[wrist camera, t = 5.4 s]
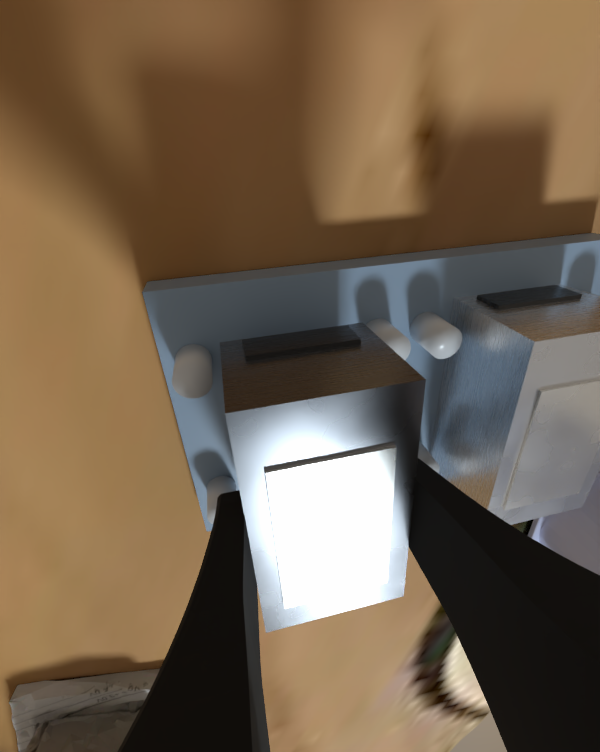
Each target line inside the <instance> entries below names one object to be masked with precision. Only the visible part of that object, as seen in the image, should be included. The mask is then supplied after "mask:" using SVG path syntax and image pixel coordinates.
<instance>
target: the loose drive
mask: <svg viewBox="0 0 600 752" xmlns="http://www.w3.org/2000/svg"><path fill="white" fill-rule="evenodd" d="M220 353H221V366H222V379H223V392H224V405H225V415H226V421H227V426H228V432H229V437H230V442H231V448H232V453H233V458H234V464H235V469H236V474H237V480H238V485H239V490H240V496H241V501H242V506H243V512H244V516H245V520H246V526H247V532H248V537H249V543H250V548H251V554H252V559H253V565H254V570H255V576H256V581H257V587H258V592H259V597H260V603H261V608H262V613H263V619H264V624H265V629H266V633H267V632H271V631H274V630H278V629H282V628H286V627H289V626H293V625H297V624H301V623H304V622H308V621H312V620H316V619H319V618H323V617H327V616H331V615H334V614H338V613H342V612H346V611H350V610H353V609H357V608H361V607H365V606H368V605H372V604H376V603H380V602H383V601H387V600H391V599H395V598H398V597H402V596H404V586H405V576H406V567H407V557H408V547H409V538H410V528H411V518H412V508H413V498H414V488H415V479H416V470H417V460H418V451H419V441H420V431H421V422H422V412H423V402H424V393H425V383H426V379H425V378H424V377H423V376H421V375H420V374H419V373H418V372H417V371H416V370H415V369H414V368H413V367H411V366H410V365H409V364H408V363H407V362H406V361H405V360H404V359H403V358H402V357H400V356H399V355H398V354H397V353H396V352H395V351H394V350H393V349H392V348H390V347H389V346H388V345H387V344H386V343H385V342H384V341H383V340H382V339H380V338H379V337H378V336H377V335H376V334H375V333H374V332H373V331H372V330H370V329H369V328H368V327H367V326H366V325H365V324H364V323H363V322H362V323H355V324H348V325H341V326H334V327H327V328H319V329H312V330H305V331H298V332H291V333H284V334H277V335H269V336H262V337H255V338H248V339H241V340H234V341H226V342H220Z"/></svg>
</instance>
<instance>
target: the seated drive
mask: <svg viewBox="0 0 600 752" xmlns="http://www.w3.org/2000/svg"><path fill="white" fill-rule="evenodd" d="M450 324H451V325H453V326H454V327H456V328H457V329H459V330H460V332H461V334H462V343H461V346H460V348H459V349H458V350H457V352H456V353H455V354H453V355H452V356H450V357H448V358H445V359H444V366H443V372H442V379H441V385H440V392H439V398H438V405H437V411H436V418H435V424H434V431H433V438H432V444H431V451H430V454H431V456H432V457H433V458H434V459H435V461H436V462H437V463H438V465H439V467H440V470H439V473H438V474H440V475H441V476H442V477H444V478H445V479H446V480H448V481H449V482H450V483H452V484H453V485H454V486H455V487H457V488H458V489H459V490H461V491H462V492H463V493H465V494H466V495H468V496H469V497H470V498H472V499H473V500H475V501H476V502H477V503H479V504H480V505H481V506H483V507H484V508H486V509H487V510H489V511H490V512H492V513H493V514H494V515H496V516H498V517H499V518H501V519H502V520H504V521H505V522H507V523H508V524H510V525H512V524H516V523H520V522H524V521H528V520H533V519H537V518H541V517H545V516H549V515H553V514H557V513H561V512H565V511H570V510H574V509H578V508H582V507H583V505H584V503H585V500H586V498H587V496H588V494H589V492H590V489H591V487H592V485H593V483H594V481H595V479H596V476H597V474H598V472H599V470H600V297H598V296H595V295H592V294H589V293H586V292H583V291H580V290H577V289H574V288H571V287H568V286H565V285H562V284H555V285H547V286H540V287H532V288H525V289H517V290H510V291H502V292H495V293H487V294H480V295H472V296H465V297H457V298H454V301H453V307H452V314H451V320H450Z"/></svg>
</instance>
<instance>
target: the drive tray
mask: <svg viewBox="0 0 600 752" xmlns="http://www.w3.org/2000/svg"><path fill="white" fill-rule="evenodd" d="M555 284H562V285H565V286H568V287H571V288H574V289H577V290H580V291H583V292H586V293H589V294H592V295H595V296H598V297H600V234H596V233H586V234H577V235H568V236H559V237H550V238H541V239H532V240H523V241H513V242H504V243H495V244H486V245H477V246H468V247H459V248H450V249H441V250H432V251H422V252H413V253H404V254H395V255H386V256H377V257H368V258H359V259H350V260H340V261H331V262H322V263H313V264H304V265H295V266H286V267H277V268H268V269H258V270H249V271H240V272H231V273H222V274H213V275H204V276H195V277H186V278H176V279H167V280H158V281H149V282H147V284H146V286H145V288H144V290H143V292H142V293H143V297H144V300H145V304H146V308H147V312H148V315H149V319H150V323H151V326H152V330H153V334H154V337H155V341H156V345H157V349H158V352H159V356H160V360H161V363H162V367H163V371H164V375H165V378H166V382H167V386H168V389H169V393H170V397H171V400H172V404H173V408H174V412H175V415H176V419H177V423H178V426H179V430H180V434H181V437H182V441H183V445H184V449H185V452H186V456H187V460H188V463H189V467H190V471H191V474H192V478H193V482H194V486H195V489H196V493H197V497H198V500H199V504H200V508H201V511H202V515H203V519H204V523H205V526H206V530H207V531H212V527H213V522H214V518H215V512H216V507H217V498H218V496H219V495H220V494H222V493H227V492H232V491H237V490H239V485H238V480H237V474H236V469H235V464H234V458H233V453H232V448H231V442H230V437H229V432H228V426H227V421H226V415H225V405H224V392H223V379H222V366H221V353H220V342H226V341H234V340H241V339H248V338H255V337H262V336H269V335H277V334H284V333H291V332H298V331H305V330H312V329H319V328H327V327H334V326H341V325H348V324H355V323H362V322H363V323H364V324H365V325H366V326H367V327H368V328H369V329H370V330H372V331H373V332H374V333H375V334H376V335H377V336H378V337H379V338H380V339H382V340H383V341H384V342H385V343H386V344H387V345H388V346H389V347H390V348H392V349H393V350H394V351H395V352H396V353H397V354H398V355H399V356H400V357H402V358H403V359H404V360H405V361H406V362H407V363H408V364H409V365H410V366H411V367H413V368H414V369H415V370H416V371H417V372H418V373H419V374H420V375H421V376H423V377H424V378H425V379H426V383H425V393H424V402H423V412H422V422H421V431H420V441H419V451H418V458H419V459H420V460H422V461H423V462H424V463H426V464H427V465H428V466H429V467H431V468H432V469H433V470H435V471H436V472H437V473H439V470H440V467H439V465H438V463H437V462H436V461H435V459H434V458H433V457H432V456H431V454H430V451H431V444H432V438H433V431H434V424H435V418H436V411H437V405H438V398H439V392H440V385H441V379H442V372H443V366H444V359H445V358H448V357H450V356H452V355H453V354H455V353H456V352H457V350H458V349H459V348H460V346H461V343H462V334H461V332H460V330H459V329H457V328H456V327H454V326H453V325H451V324H450V320H451V314H452V307H453V301H454V298H457V297H465V296H472V295H480V294H487V293H495V292H502V291H510V290H517V289H525V288H532V287H540V286H547V285H555Z"/></svg>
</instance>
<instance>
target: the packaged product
mask: <svg viewBox="0 0 600 752" xmlns="http://www.w3.org/2000/svg"><path fill="white" fill-rule="evenodd" d="M159 670H160V669H152V670H142V671H134V672H123V673H115V674H107V675H100V676H93V677H85V678H78V679H70V680H63V681H40V682H34V683H28V684H21V685H17V687H16V689H15V691H14V693H13V695H12V697H11V699H10V701H9V704H10V706H11V709H12V722H13V726H14V729H15V730H16V735H17V745H18V750H19V752H117V751H118V750H119V748H120V746H121V744H122V742H123V740H124V738H125V737H126V735H127V733H128V731H129V729H130V727H131V726H132V724H133V722H134V720H135V718H136V716H137V714H138V713H139V711H140V709H141V707H142V705H143V703H144V701H145V699H146V697H147V695H148V693H149V691H150V689H151V687H152V685H153V683H154V681H155V679H156V676H157V674H158V672H159Z"/></svg>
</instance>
